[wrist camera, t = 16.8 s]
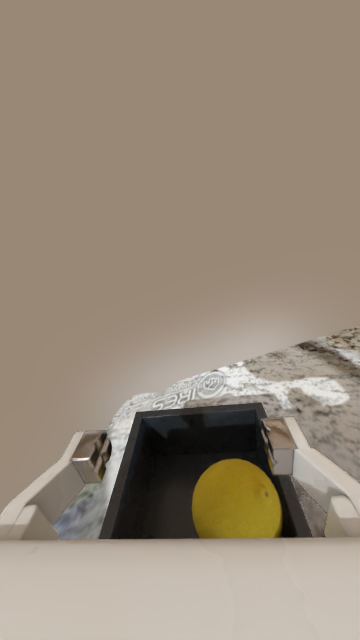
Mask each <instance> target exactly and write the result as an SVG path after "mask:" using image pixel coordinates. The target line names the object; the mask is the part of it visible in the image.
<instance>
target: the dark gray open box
mask: <svg viewBox="0 0 360 640" xmlns="http://www.w3.org/2000/svg"><path fill="white" fill-rule="evenodd" d="M261 418H267V416H266V413H265V410H264V408H263V405H262V403H261V402H260V403H246V404H234V405H221V406H208V407H195V408H182V409H169V410H157V411H144V412H136V415H135V418H134V421H133V425H132V428H131V431H130V435H129V438H128V442H127V445H126V448H125V452H124V455H123V458H122V462H121V465H120V469H119V472H118V475H117V479H116V482H115V485H114V489H113V492H112V495H111V499H110V502H109V506H108V509H107V512H106V516H105V519H104V522H103V526H102V529H101V533H100V536H99V539H200V538H199V536H198V534H197V532H196V529H195V525H194V521H193V515H192V498H193V493H194V490H195V486H196V484H197V482H198V480H199V478H200V477H201V475H202V474H203V473H204V472H205V471H206V470H207V469H208V468H209V467H210V466H211V465H213V464H215V463H217V462H219V461H222V460H226V459H241V460H245V461H249V462H250V463H252V464H254V465H256V466H257V467H259V468H260V469H261V470H262V471H263V472H264V473H265V474H266V475H267V476H268V478H269V479H270V480H271V482H272V483H273V485H274V487H275V489H276V491H277V493H278V496H279V499H280V503H281V506H282V514H283V524H282V532H281V535H280V538H313V537H312V534H311V532H310V529H309V526H308V524H307V521H306V518H305V516H304V513H303V510H302V508H301V505H300V503H299V500H298V497H297V495H296V492H295V489H294V487H293V484H292V482H291V479H290V476H289V475H272V471H271V468H270V465H269V462H268V453H266V452H265V450H264V446H263V442H262V437H261V430H262V426H261ZM99 539H98V540H99Z"/></svg>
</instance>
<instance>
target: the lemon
mask: <svg viewBox="0 0 360 640" xmlns="http://www.w3.org/2000/svg"><path fill="white" fill-rule="evenodd" d="M192 515H193V521H194V525H195V529H196V532H197V534H198V536H199V538H200V539H208V538H280V535H281V532H282V524H283V514H282V506H281V503H280V499H279V496H278V493H277V491H276V489H275V487H274V485H273V483H272V482H271V480H270V479H269V478H268V476H267V475H266V474H265V473H264V472H263V471H262V470H261V469H260V468H259V467H257V466H256V465H254V464H252V463H250V462H249V461H245V460H241V459H226V460H222V461H219V462H217V463H215V464H213V465H211V466H210V467H209V468H208V469H207V470H206V471H205V472H204V473H203V474H202V475H201V477H200V478H199V480H198V482H197V484H196V486H195V490H194V493H193V498H192Z"/></svg>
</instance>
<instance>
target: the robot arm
mask: <svg viewBox="0 0 360 640" xmlns="http://www.w3.org/2000/svg"><path fill="white" fill-rule="evenodd" d="M261 426H262V430H261V437H262V442H263V446H264V450H265V452H266V453H268V462H269V465H270V468H271V471H272V475H292V477H293V478H294V479H295V480H296V481H297V482H298V483H299V484H300V485H301V486H302V487H303V488H304V489H305V491H306V492H307V493H308V494H309V495H310V496H311V497H312V498H313V499H314V500H315V501H316V502H317V504H318V505H319V506H320V507H321V508H322V509H323V510H324V511H325V512H326V513H327V514H328V515H327V519H326V524H325V528H324V534H325V537H317V538H208V539H99V540H57V538H58V536H59V535H58V532H57V530H56V529H55V528H54V527H53V524H54V523H55V521H56V520H57V519H58V518H59V517H60V515H61V514H62V513H63V512H64V510H65V509H66V508H67V507H68V506H69V504H70V503H71V502H72V501H73V499H74V498H75V497H76V496H77V494H78V493H79V492H80V491H81V490H82V488H83V487H84V486H85V484H90V483H101V482H102V479H103V476H104V473H105V470H106V466H105V464H106V463H107V462H108V461H109V459H110V456H111V451H112V445H111V441H110V440H109V439H108V438H106V437H107V432H106V430H98V431H97V430H96V431H78V432H77V433H75V435H74V436H73V438H72V440H71V442H70V443H69V445H68V447H67V449H66V451H65V453H64V454H63V456H62V458H61V460H60V461H59V462H56V463H55V464H54V465H53V466H51V467H50V468H49V469H48V470H47V471H46V472H44V473H43V474H42V475H41V476H40V477H39V478H38V479H36V480H35V481H34V482H33V483H32V484H31V485H29V486H28V487H27V488H26V489H25V490H24V491H22V492H21V493H20V494H19V495H18V496H17V497H16V498H14V500H12V501H11V502H10V503H9V504H8V505H7V506H6V508H5V509H4V511H3V512H2V514H1V515H0V640H360V482H358V481H357V480H356V479H355V478H353V477H352V476H351V475H349V474H348V473H347V472H345V471H344V470H343V469H341V468H340V467H339V466H338V465H336V464H335V463H334V462H332V461H331V460H330V459H328V458H327V457H326V456H324V455H323V454H322V453H321V452H319V451H318V450H317V449H315V448H311V447H310V445H309V443H308V441H307V439H306V438H305V436H304V434H303V432H302V430H301V428H300V426H299V424H298V423H297V421H296V419H295V417H293V416H288V417H273V418H261Z"/></svg>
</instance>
